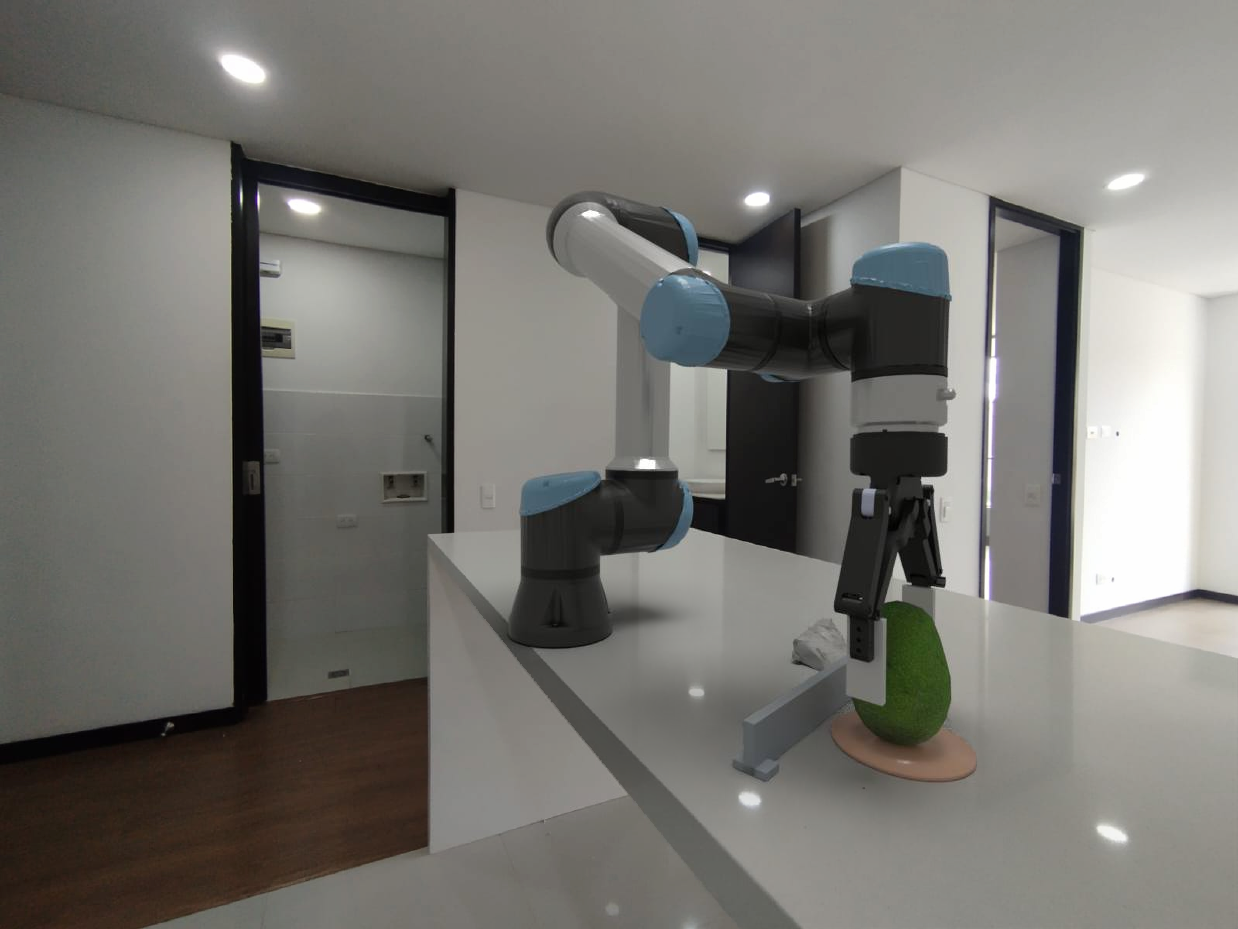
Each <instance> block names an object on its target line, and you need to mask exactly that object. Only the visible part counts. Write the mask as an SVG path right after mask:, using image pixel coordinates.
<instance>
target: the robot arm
mask: <svg viewBox="0 0 1238 929" xmlns="http://www.w3.org/2000/svg"><path fill="white" fill-rule="evenodd" d="M545 240H546V244H547V247H548V251H549V252H550V255H551V257H552V258H553V260H555V262H556V263H557V264H558V266H560V267H561V268H563V269H564V270H565V271H567V273H569V274H571V275H572V276H575V277H577V278H585V279H587V280H589V281H591V282H592V283H593V284H595V286H596V287H598V288H599V289H600V290H601V291H603V292H604V293H605V294H606V295H608V298H609V299H611V300H612V301H613V303H614V304H615V305H616V306H617V307H616V308H617V311H616V314H617V315H616V316H617V317H616V367H615V368H616V370H615V371H616V373H615V380H616V381H615V383H616V384H615V432H614V435H615V437H614V440H615V443H614V444H615V445H614V457H613V459H612V460H611V461H610V462H609V463H608V464H607V465H606V466H605V470H604V471H605V472H604V473H605V474H604V479H602V476H601V473H600V471H598V470H579V471H572V472H561V473H554V474H547V475H543V476H542V475H541V476H537V477H533V478H530V479H528V480H526V481H525V482H524V484H522V487H521V492H520V506H519V510H518V512H519V516H520V517H519V518H520V581H519V584H518V588H517V591H516V594H515V596H514V600H513V603H512V609H511V612H510V614H509V616H508V622H507V623H508V627H507V628H508V630H507V631H508V633H507V634H508V636H509V638H510V639H511V640H513V641H515V642H517V643H519V644H523V645H527V646H533V647H541V648H565V647H577V646H582V645H587V644H588V645H589V644H592V643H595V642H598V641H601V640H604V639H605V638H608V636H610V635H611V634H612V632H613V614H612V611H611V609H610V608H609V603H608V599H607V595H606V592H605V589H604V586H603V583H602V578H601V557H603V556H615V555H623V554H636V553H648V554H650V553H656V552H658V551H662V550H669V549H673V548H675V547H677V546H678V545H679V544H680V542H682V540H683V539H685V537H686V536H687V534H688V533H689V530H690V528H691V525H692V521H693V515H694V501H693V496H692V494H691V493H690V488H689V486H688V484H687V483H686V482H685V481H683V480H682V479H680V478H679V467H678V466H677V465H676V464H675V463H674V462H673V461H672V460H671V458H670V424H671V422H670V419H671V418H670V412H671V368H672V367H671V363H674V364H676V365H678V366H680V367H683V368H697V367H698V368H709V369H717V370H728V371H740V372H748V373H755V374H756V375H758V376H759V377H760V378H761V379H763V380H764V381H766V382H770V383H781V382H791V383H795V382H796V383H797V382H801V381H802V380H806V379H810V378H817V377H821V376H827V375H831V374H837V373H843V372H844V373H845V372H850V388H849V389H850V390H849V391H850V393H849V394H850V395H849V396H850V398H849V425H850V426H851V428H854V429H856V433H855V434H852V437H850V438H849V470H850V472H851V474H852V475H855V476H861V477H862V476H863V477H869V479H870V483H869V488H862V487H861V488H860V487H855V488H854V489H853V491H852V493H851V494H852V495H851V514H850V520H849V521H850V522H849V525H848V531H847V536H846V540H845V546H844V551H843V555H842V561H841V565H840V570H839V576H838V579H837V580H838V581H837V585H836V591H835V596H834V601H833V610H834V613H835V614H841V615H846V645H847V662H846V695H848V696H851V697H854V698H857V699H861V700H864V701H867V702H870V703H873V704H877V705H880V706H883V705H884V704H885V703H886V621H887V619H885V618H881V615H882V610H883V606H884V603H886V598H887V595H888V591H889V586H890V584H891V578H892V576H893V572H894V567H895V564H896V560H897V556H898V557H899V559H900V564H901V567H902V571H903V575H904V577H905V581H906V583H904V584H901V601H902V602H907V603H910V604H913V605H916V606H918V607H921V608H922V609H923V610H924V611H925V612H926V613H928V614H929V615H930V616H931V617H932V618H933V621H934V623H935V624H936V588H940V589H945V587H946V584H947V583H946V582H947V579H946V578H947V577H946V576H942V575H943V573H944V572H943V571H944V569H943V566H942V565H943V564H942V559H941V558H942V557H941V550H940V544H939V536H938V527H937V520H936V513H935V512H936V510H935V488H934V485H933V484H926V483H925V484H923V483H922V478H939V477H940V478H941V477H943V476H945V475H946V474H947V472H948V467H949V465H948V461H949V459H948V456H949V455H948V453H949V452H948V450H949V448H948V447H949V445H948V444H949V437H948V436H946V433H944V432H939V430H940V429H939V428H940V427H944V426H945V425H947V423H948V416H949V415H948V409H949V408H948V404H947V401H952V400H954V399H955V398H956V397H957V392H956V391H955V388H949V383H948V381H949V380H948V378H949V367H948V362H949V361H948V359H949V358H948V356H949V334H950V333H949V331H950V330H949V329H950V328H949V327H950V326H949V325H950V306H951V305H950V304H951V302H953V301H952V298H953V296H952V295H951V290H950V272H949V258H948V255H947V253H946V251H945V250H944V249H943V248H942V247H940V246H938V245H935V244H931V243H929V242H926V241H925V242H924V241H903V242H896V243H890V244H885V245H882V246H878V247H875V248H873V249H871V250H868V251H866V252H865V253H864V254H862V256H859V257H858V258H857V259H856V260H855V261H854V263H853V264H852V271H851V277H850V279H849V282H850V283H849V284H850V287H848V288H846V289H844V290H840V291H839V292H836V293H834V294H830V295H827V296H823V297H819V298H816V299H812V300H801V299H798V298H792V297H787V296H783V295H778V294H773V293H769V292H763V291H759V290H751V289H747V288H744V287H739V286H735V285H731V284H729V283H726V282H722V281H720V280H719V279H717V278H715V277H714V276H712V275H710V274H708V273H706V272H704V271H703V270H701V269H699V268H698V267H697V266H698V261H699V242H698V236H697V234H696V230H695V228H694V226H693V225H692V223H691V221H690V220H688V219H687V218H686V217H685V216H684V215H683V214H681V213H677V212H675V211H672V210H671V209H670V208H667V207H663V206H655V205H651V204H647V203H644V202H640V201H637V200H632V199H631V198H630V199H629V198H627V197H626V198H625V197H622V196H619V195H614V194H611V193H610V192H605V191H600V190H583V191H582V190H581V191H579V192H574V193H572V194H569V195H567V196H566V197H564V198H562V200H560V201H559V202H558V203H557V204H555V206H554V207H553V208H552V211H551V212H550V214H549V217H548V219H547V222H546V225H545ZM907 583H909V584H907ZM933 587H934V588H933ZM610 633H611V634H610ZM609 634H610V635H609Z"/></svg>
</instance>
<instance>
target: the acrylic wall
mask: <svg viewBox="0 0 1238 929" xmlns="http://www.w3.org/2000/svg"><path fill="white" fill-rule="evenodd" d="M846 662H847V655H845V656H843V657H842V658H840V659H839V660H837V661H836V662H834V663H832V664H831V665H829V666H828V667H826V668H825V669H823V670H821V671H819V672H817V673H816V674H814V675H812V676H810V677H809V678H807V679H806V680H804V681H802V682H801V683H800V684H798V685H796V686H795V687H793V688H792V689H790V690H788V691H787V692H785V693H784V694H782V695H781V696H779V697H777V698H776V699H774V700H773V701H771V702H770V703H768V704H767V705H765V706H763V707H762V708H760V709H759V710H756V712H754V713H753V714H751V715H749V716H748V717H746V718H745V719H743V720H742V732H743V733H742V735H743V736H742V738H743V739H742V743H743V744H742V748H743V750H742V751H741V752H740V753H738V754H737V755H736V756H734V757H733V758H732V763H731V764H732V767H733V768H735V769H738V770H740V771H742V772H745V773H746V774H748V775H751V776H753V777H755V778H758V779H760V780H762V781H764V782H768V781H769V780H770V779H771V778H773V777H774V776H775V775H776V774H777V773H779V772H780V762H777V761H776V760H777V759H778V758H779V757H781V756H782V755H783V754H784V753H786V752H787V751H788V750H790V749H791V748H792V747H794V746H795V745H796V744H797V743H798V742H799V741H801V740H802V739H803V738H805V737H806V736H807V735H808V734H809V733H811V732H812V731H814V730H815V729H816V728H817V727H818V726H820V724H823V722H825V721H826V720H827V719H828V718H829V717H831V716H832V715H833V714H835V713H836V712H837V711H838V710H840V709H841V708H842V707H843V706H845V705H846V704H847V703H848V702H850V701H851V700H852V697H851V696H848V695H846Z"/></svg>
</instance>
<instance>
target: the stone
mask: <svg viewBox="0 0 1238 929" xmlns="http://www.w3.org/2000/svg"><path fill="white" fill-rule="evenodd" d="M792 645H793V650H791V652H792V653H791V658H792V659H794V660H796V661H799V662H802V663H803V664H804V665H807V666H809V667H811V668H813V669H814V670H817V671H819V672H820V671H821V670H823V669H825V668H826V667H828V666H829V665H831V664H832V663H834V662H836V661H837V660H839V659H840V658H842V657H843V656H845V655H847V642H846V641H845V638H844V635H843V634H842V633H841V631H839V628H838V626H837V625H836V624H835V623H834V622H833V618H832V617H828V618H823V617H822V618H820V619H818V620H817V621H815V623H814V624H813V625H812V626H809V627H807V629H806V631H804V632H803V633H801V634H800V635H799V636H797V637H796V638H794V639H793V641H792Z"/></svg>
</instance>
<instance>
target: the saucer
mask: <svg viewBox="0 0 1238 929" xmlns="http://www.w3.org/2000/svg"><path fill="white" fill-rule="evenodd" d="M830 730H831V731H830V732H831V738H832V740H833V742H834V743H835V745H836V746H837V747H838V749H840V750H841V751H842V752H843V753H844V754H846V755H847V756H849V757H850V758H852V759H853V760H855V761H856V762H858V763H859V764H860V763H861V764H862V765H865V766H866V767H868V768H871V769H873V770H876V771H879V772H882V773H884V774H888V775H890V776H891V775H892V776H894V777H895V776H896V777H899V778H904V779H907V780H915V781H919V782H920V781H923V782H937V783H938V782H952V781H958V780H961V779H964V778H966V777H968V776H970V775H971V774H973V772H974V771H975V769H976V768H977V767H976V766H977V755H976V752H975V750H974V749H973V747H972V746H971V745H970V744H969V743H968V742H967V741H966V740H964V738H962V737H961V736H960V735H958V734H956V733H955V732H953V731H951V730H949V729H948V728H945V727H944V726H941V728H940V730H939V731H938V733H937V734H935V735H934V736H933V737H932V738H931V739H929V740H928V741H926V742H923V743H920V744H917V745H900V744H896V743H892V742H888V741H886V740H884V739H882V738H880V737H878V736H876V735H875V734H873V733H872V732H871V731H870V730H869V729H868V728H867V727H866V726H865V725H864V724H863V723H862V721H861V719H860V717H859V715H858V713H857V712H856V711H851V712H848V713H845V714H842V715H840V716H838V717H837V718H835V720H833V721H832V724H831V729H830Z"/></svg>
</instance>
